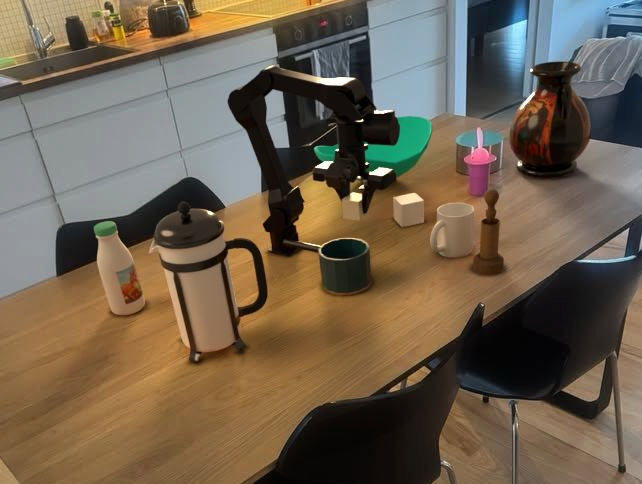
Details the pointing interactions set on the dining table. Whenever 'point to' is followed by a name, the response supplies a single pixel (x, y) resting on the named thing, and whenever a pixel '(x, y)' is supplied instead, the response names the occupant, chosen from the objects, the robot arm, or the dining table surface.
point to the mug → (453, 230)
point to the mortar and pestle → (489, 239)
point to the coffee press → (204, 279)
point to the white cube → (408, 209)
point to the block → (353, 207)
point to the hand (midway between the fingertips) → (356, 211)
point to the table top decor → (392, 147)
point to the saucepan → (341, 264)
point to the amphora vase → (550, 124)
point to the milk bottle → (117, 271)
